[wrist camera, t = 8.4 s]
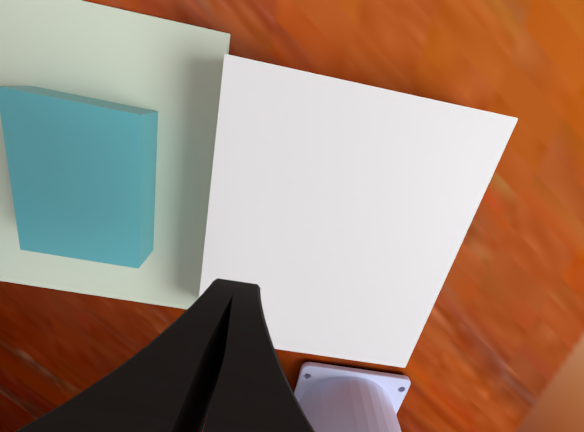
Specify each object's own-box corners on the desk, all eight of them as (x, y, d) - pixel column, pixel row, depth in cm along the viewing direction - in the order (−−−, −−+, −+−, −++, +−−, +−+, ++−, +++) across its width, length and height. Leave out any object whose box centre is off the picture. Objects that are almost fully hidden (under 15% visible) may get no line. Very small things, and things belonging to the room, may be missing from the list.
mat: (200, 308, 21) (199, 311, 20) (-9, 276, 20) (-14, 278, 19) (230, 34, 15) (229, 33, 14) (-69, -33, 14) (-77, -36, 13)
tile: (20, 249, 16) (47, 232, 18) (138, 268, 17) (153, 250, 19) (-4, 85, 13) (31, 85, 15) (140, 114, 14) (158, 111, 16)
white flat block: (387, 324, 21) (405, 367, 18) (209, 296, 20) (194, 337, 17) (472, 111, 16) (518, 118, 13) (238, 60, 15) (224, 53, 12)
